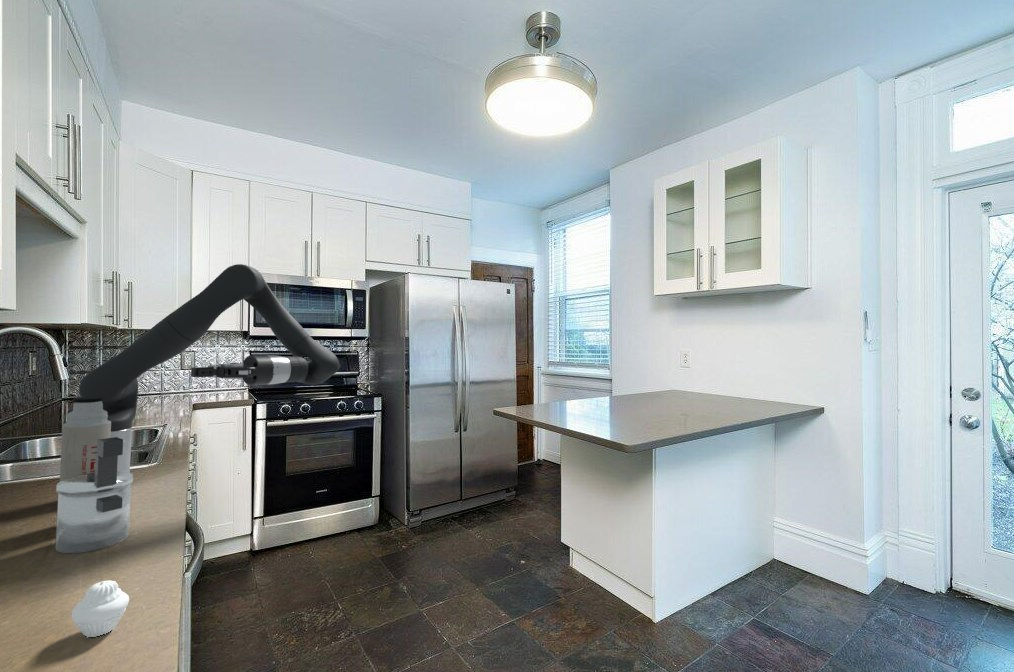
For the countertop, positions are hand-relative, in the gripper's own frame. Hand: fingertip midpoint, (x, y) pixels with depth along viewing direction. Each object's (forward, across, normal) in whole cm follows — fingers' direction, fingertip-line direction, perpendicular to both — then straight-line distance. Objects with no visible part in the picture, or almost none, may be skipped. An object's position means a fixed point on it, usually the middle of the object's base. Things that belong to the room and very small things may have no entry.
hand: (192, 372), depth 104 cm
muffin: (+25, +32, +34) cm, 53 cm away
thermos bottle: (+13, -17, +34) cm, 40 cm away
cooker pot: (+15, -4, +34) cm, 37 cm away
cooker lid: (+15, -4, +23) cm, 27 cm away
